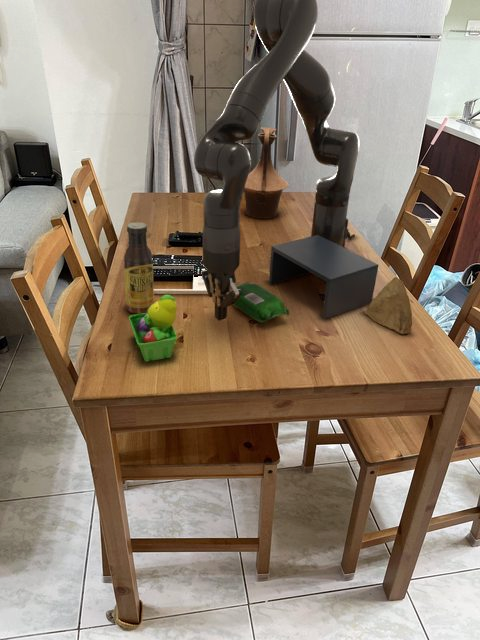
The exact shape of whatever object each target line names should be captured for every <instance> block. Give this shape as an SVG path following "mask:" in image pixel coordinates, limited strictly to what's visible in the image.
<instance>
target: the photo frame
mask: <svg viewBox="0 0 480 640" xmlns="http://www.w3.org/2000/svg"><path fill="white" fill-rule="evenodd" d="M154 269H155V270H156V269H157V270H160V269H162V270H194V266H153V270H154ZM192 279H193V280H192V289H191V288H189V289H188V288H187V289H185V288H153V289H154V295H208V292H207V289H206V286H205V283H204V280H203V277H202V276H198V277H194V276H193V278H192Z"/></svg>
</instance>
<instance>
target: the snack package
mask: <svg viewBox="0 0 480 640" xmlns="http://www.w3.org/2000/svg"><path fill="white" fill-rule="evenodd" d="M235 286H236V288H237V290H238V289H241V290H242V295H241V296H240V297H239V298H238V300H237V301H236V302H235V303H234V304H233V305H232V306H234V307H235V308H237V309H239V310H240V311H242V312H243V313H244V314H246V315H247V316H248V317H249V318H251V319H253V320H255V321H257V322H258V323H261V324H263V323H265V322H268V321H270V320H272V319H275V318H277V317H279V316H283V315H286V316H289V314H290V309H288V308H287V307H286V306H285V304H284V303H283V301H282V300H281V298H279V297H278V296H277V295H275V294H273V293H272V292H270V291H269V290H268V289H266V288H264V287H263V286H261V285H259V284H258V283H256V282H253V281H246V282H243V283H240V284H238V285H235Z"/></svg>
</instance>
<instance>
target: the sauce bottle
mask: <svg viewBox="0 0 480 640" xmlns="http://www.w3.org/2000/svg"><path fill="white" fill-rule="evenodd" d="M126 232H127V233H128V246H127V248H126V249H125V253H124V255H123V263H124V264H123V265H124V266H123V271H124V272H123V273H124V291H125V304H126V309H127V311H128V312H129V313H132V314H142V313H148V309H149V307H150V306H151V305H152V304H154V303H155V294H154V289H155V288H154V269H153V264H154V262H153V254H152V250H151V249H150V247H149V246H148V242H147V232H148V226H147V224H146V223H144V222H140V221H138V222H136V221H135V222H130V223H128V224H127V225H126Z"/></svg>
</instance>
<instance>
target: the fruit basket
mask: <svg viewBox="0 0 480 640" xmlns="http://www.w3.org/2000/svg"><path fill="white" fill-rule="evenodd" d="M177 308H178V303H177V301H176V300H175V297H174V296H172V294H163V295H162V296H161V297H160V299H159V300H157V301H154V303H153V304H152V305H151V306H150V307H149V309H148V312H147V313H142V314H136V313H134V314H131V315H129V317H128V319H129V322H130V326H131V328H132V332H133V336H134V338H135V341H136V344H137V346H138V347H139V349H140V352H141V354H142V355H141V356H142V358H143V360H144V362H150V361H158V360H164V359H170V358H172V355H173V351H174V346H175V343H176V341H177V338H178V335H177V333H176V331H175V328H174V326H173V325H174V323H175V321H176V316H177Z"/></svg>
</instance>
